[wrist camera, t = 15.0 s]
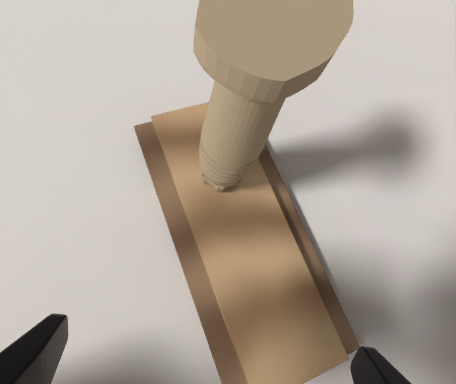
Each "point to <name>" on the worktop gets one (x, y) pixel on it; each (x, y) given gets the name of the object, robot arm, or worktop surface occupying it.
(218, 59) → the handle
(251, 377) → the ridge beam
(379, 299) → the worktop surface
